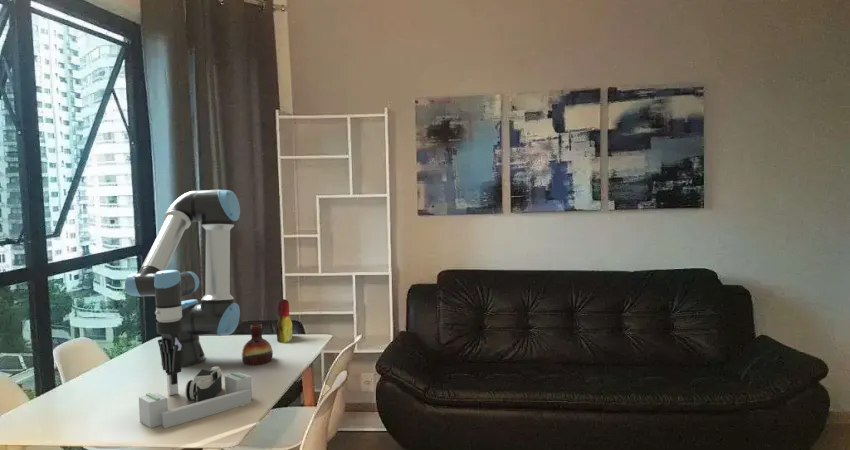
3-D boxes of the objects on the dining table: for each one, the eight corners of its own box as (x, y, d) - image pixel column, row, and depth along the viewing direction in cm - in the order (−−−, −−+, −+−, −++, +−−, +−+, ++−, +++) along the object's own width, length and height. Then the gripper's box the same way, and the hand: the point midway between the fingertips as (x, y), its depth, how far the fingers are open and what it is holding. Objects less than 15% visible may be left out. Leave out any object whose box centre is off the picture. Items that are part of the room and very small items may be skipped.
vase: (245, 372, 217) (243, 329, 216) (239, 364, 227) (238, 324, 226) (276, 367, 222) (274, 325, 221) (269, 360, 232) (267, 320, 231)
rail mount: (139, 422, 169) (138, 395, 169) (240, 394, 192) (239, 370, 191) (155, 431, 162) (154, 403, 162) (258, 401, 185) (257, 376, 184)
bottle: (289, 349, 248) (287, 301, 247) (273, 350, 248) (272, 301, 247) (295, 342, 260) (293, 296, 259) (280, 343, 260) (278, 297, 259)
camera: (199, 391, 196) (197, 361, 196) (225, 390, 196) (224, 360, 196) (181, 408, 180) (179, 375, 180) (210, 407, 180) (209, 374, 180)
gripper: (148, 319, 191) (152, 392, 192) (167, 324, 182) (170, 401, 184) (171, 315, 197) (175, 386, 198) (190, 320, 188) (194, 394, 189)
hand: (173, 393), depth 191 cm, fingers closed
